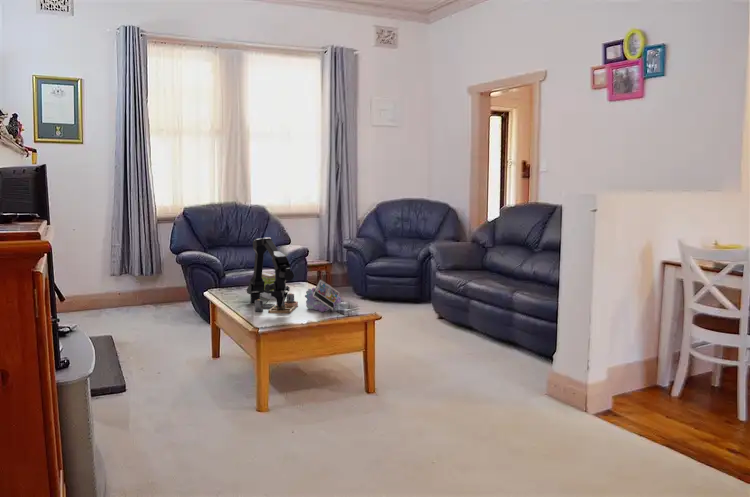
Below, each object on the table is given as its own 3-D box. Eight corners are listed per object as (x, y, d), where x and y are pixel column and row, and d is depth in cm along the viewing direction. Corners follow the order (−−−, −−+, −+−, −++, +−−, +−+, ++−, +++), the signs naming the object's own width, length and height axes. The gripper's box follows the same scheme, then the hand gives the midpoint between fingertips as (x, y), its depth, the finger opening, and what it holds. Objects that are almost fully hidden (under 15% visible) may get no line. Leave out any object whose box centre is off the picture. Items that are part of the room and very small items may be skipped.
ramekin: (285, 305, 372) (285, 300, 371) (298, 306, 371) (298, 301, 371) (282, 308, 364) (281, 303, 363) (295, 309, 363) (295, 303, 363)
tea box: (257, 295, 403) (256, 272, 401) (271, 294, 409) (271, 271, 407) (268, 299, 391) (267, 275, 389) (282, 297, 397) (282, 274, 395)
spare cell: (256, 311, 355) (256, 298, 354) (264, 312, 355) (263, 298, 354) (254, 313, 351) (253, 300, 350) (261, 313, 350) (261, 300, 350)
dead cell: (287, 305, 370) (287, 292, 369) (295, 305, 369) (294, 292, 368) (285, 307, 365) (285, 294, 364) (293, 307, 365) (293, 294, 364)
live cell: (277, 308, 355) (277, 295, 354) (285, 308, 354) (285, 295, 353) (275, 310, 350) (275, 296, 349) (283, 310, 350) (283, 297, 349)
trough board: (274, 308, 363) (274, 305, 363) (295, 309, 362) (295, 305, 362) (268, 314, 349) (268, 310, 349) (290, 314, 348) (290, 311, 348)
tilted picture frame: (323, 295, 378) (312, 272, 369) (353, 298, 366) (342, 274, 357) (305, 318, 364) (293, 295, 355) (335, 322, 352) (323, 297, 344)
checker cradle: (263, 306, 370) (263, 302, 370) (280, 306, 369) (280, 303, 369) (257, 310, 358) (257, 306, 358) (275, 311, 357) (275, 307, 357)
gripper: (270, 275, 360) (270, 302, 362) (261, 281, 342) (261, 309, 344) (289, 275, 359) (289, 303, 361) (281, 281, 341) (282, 310, 343)
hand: (280, 306), depth 352 cm, fingers closed on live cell, 4 cm apart
